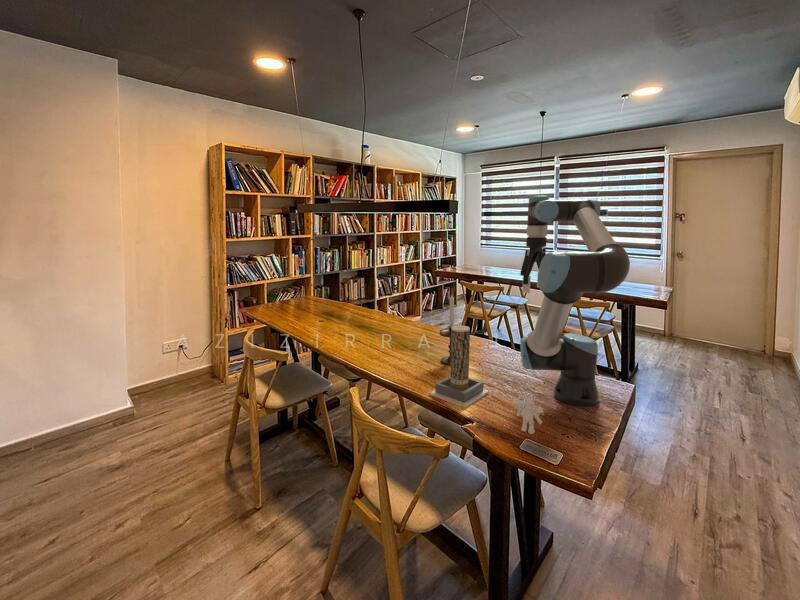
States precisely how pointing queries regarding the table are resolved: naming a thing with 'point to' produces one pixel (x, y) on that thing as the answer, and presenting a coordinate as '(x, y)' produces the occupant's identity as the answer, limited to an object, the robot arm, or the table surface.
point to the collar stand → (459, 392)
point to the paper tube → (460, 357)
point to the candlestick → (449, 330)
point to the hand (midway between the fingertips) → (533, 289)
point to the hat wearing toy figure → (528, 413)
